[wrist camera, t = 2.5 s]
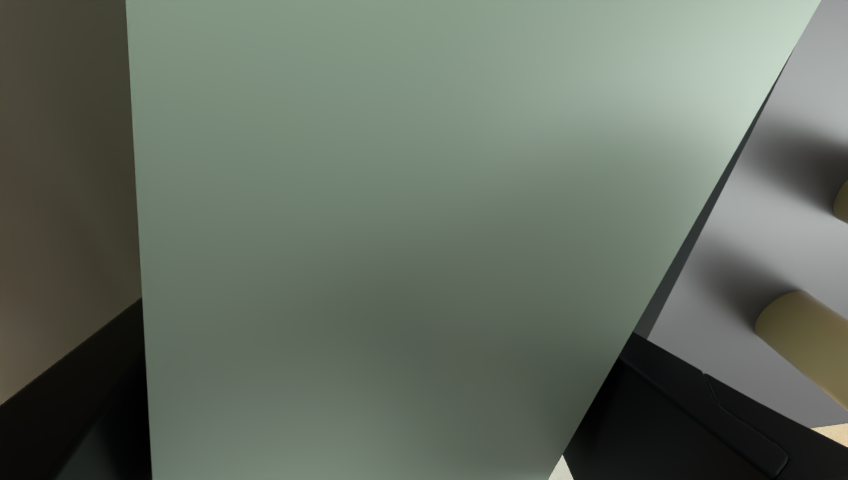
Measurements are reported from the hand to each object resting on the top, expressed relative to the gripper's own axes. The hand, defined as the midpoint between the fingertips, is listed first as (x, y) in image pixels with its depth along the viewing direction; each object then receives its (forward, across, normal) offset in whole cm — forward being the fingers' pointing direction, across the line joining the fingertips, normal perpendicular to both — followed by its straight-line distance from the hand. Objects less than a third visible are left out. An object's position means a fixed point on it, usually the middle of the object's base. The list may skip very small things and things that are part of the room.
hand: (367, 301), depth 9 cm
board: (+1, 0, 0) cm, 1 cm away
